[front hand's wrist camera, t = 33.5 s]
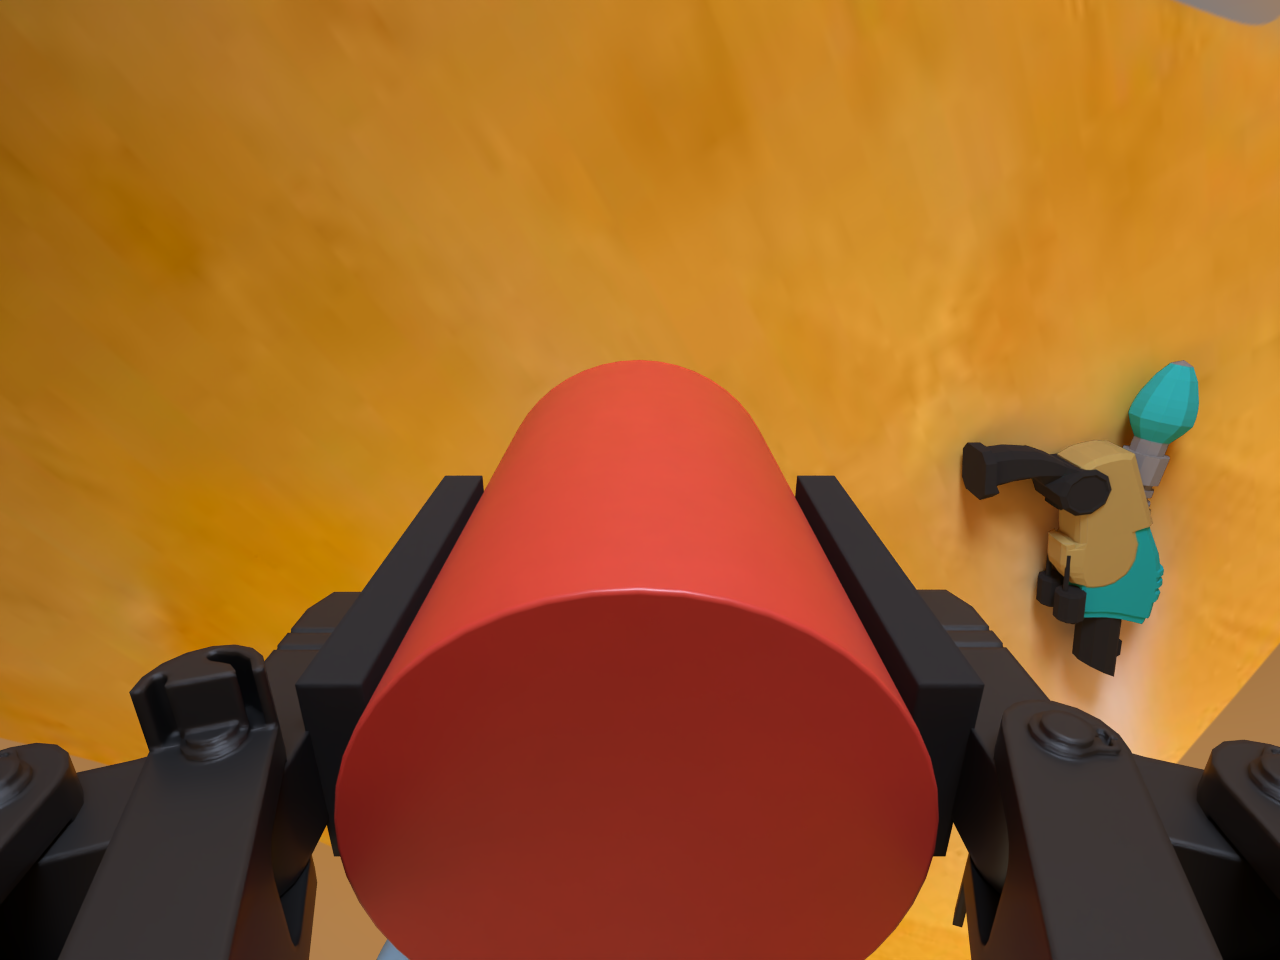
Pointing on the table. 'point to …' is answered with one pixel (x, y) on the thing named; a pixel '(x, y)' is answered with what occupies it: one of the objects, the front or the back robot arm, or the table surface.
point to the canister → (636, 710)
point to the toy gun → (1099, 513)
